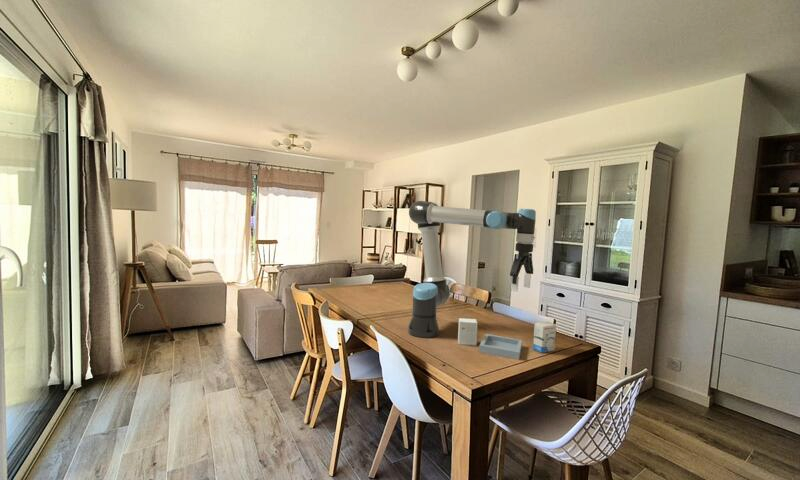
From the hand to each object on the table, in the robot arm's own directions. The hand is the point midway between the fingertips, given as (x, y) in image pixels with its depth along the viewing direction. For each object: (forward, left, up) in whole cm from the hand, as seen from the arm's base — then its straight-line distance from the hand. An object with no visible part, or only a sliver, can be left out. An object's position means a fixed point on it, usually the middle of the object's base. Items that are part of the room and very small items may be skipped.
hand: (520, 289), depth 155 cm
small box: (-21, -13, -25) cm, 35 cm away
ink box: (+11, -4, -25) cm, 28 cm away
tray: (-6, -13, -25) cm, 29 cm away
